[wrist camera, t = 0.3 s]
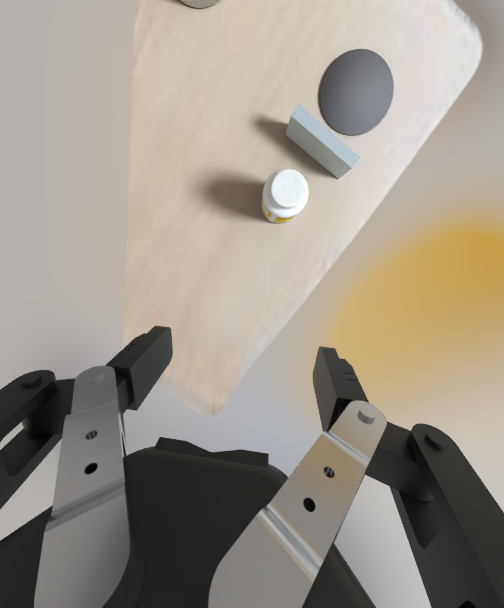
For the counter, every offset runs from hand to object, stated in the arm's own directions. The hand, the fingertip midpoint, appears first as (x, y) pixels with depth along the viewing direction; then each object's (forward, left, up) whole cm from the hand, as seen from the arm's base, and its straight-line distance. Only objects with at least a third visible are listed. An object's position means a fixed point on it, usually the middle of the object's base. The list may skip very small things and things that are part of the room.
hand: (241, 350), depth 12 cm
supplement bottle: (-11, +7, -27) cm, 30 cm away
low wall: (-17, +13, -27) cm, 34 cm away
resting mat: (-23, +20, -27) cm, 40 cm away
